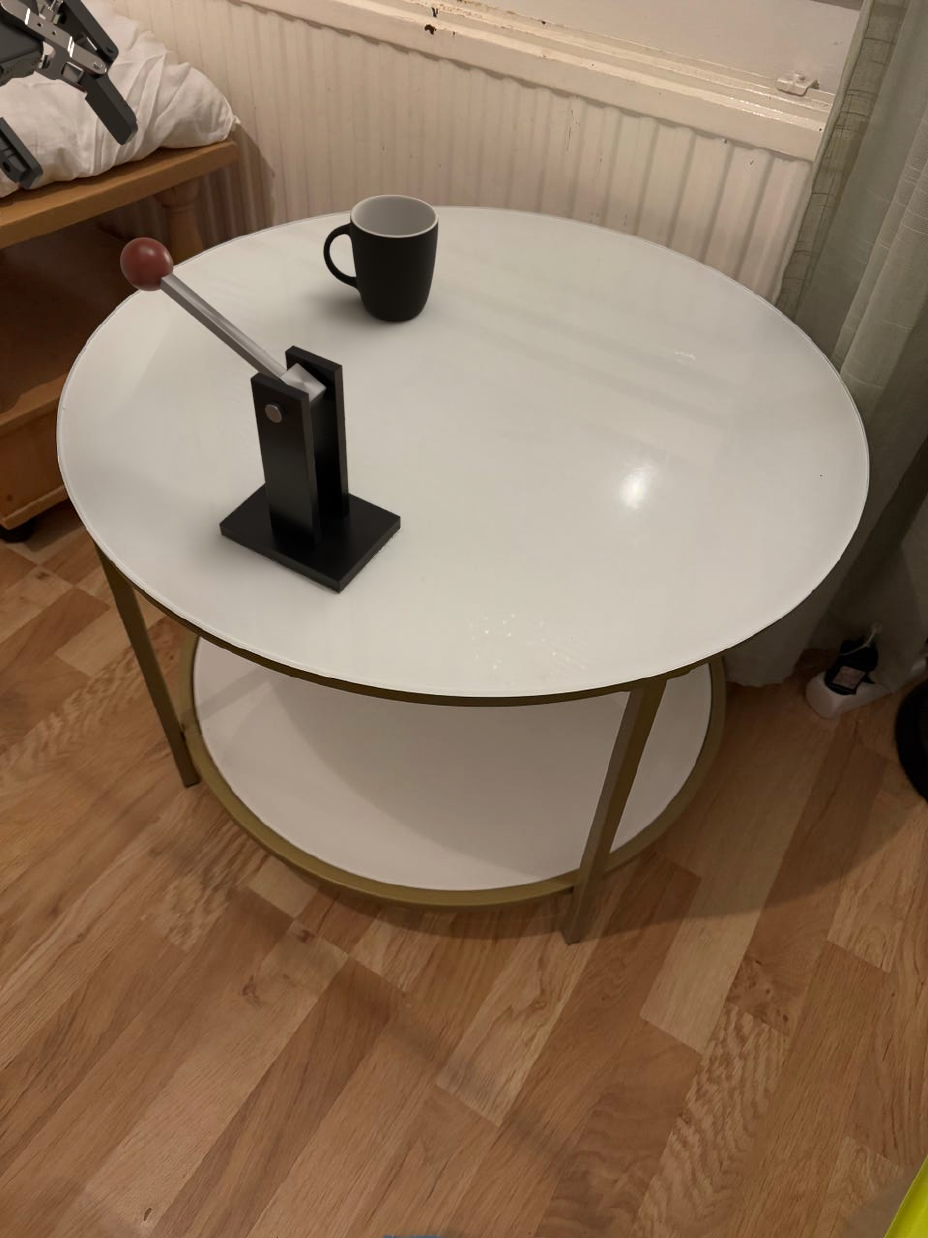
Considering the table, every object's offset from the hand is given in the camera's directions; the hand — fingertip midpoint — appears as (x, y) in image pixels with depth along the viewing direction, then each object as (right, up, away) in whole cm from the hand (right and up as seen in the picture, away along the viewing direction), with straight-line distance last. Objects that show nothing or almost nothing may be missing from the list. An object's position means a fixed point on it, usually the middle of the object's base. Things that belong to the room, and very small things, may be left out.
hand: (85, 158), depth 61 cm
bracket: (+13, -24, +15) cm, 31 cm away
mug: (+16, +3, +38) cm, 42 cm away
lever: (+7, -11, +6) cm, 14 cm away
